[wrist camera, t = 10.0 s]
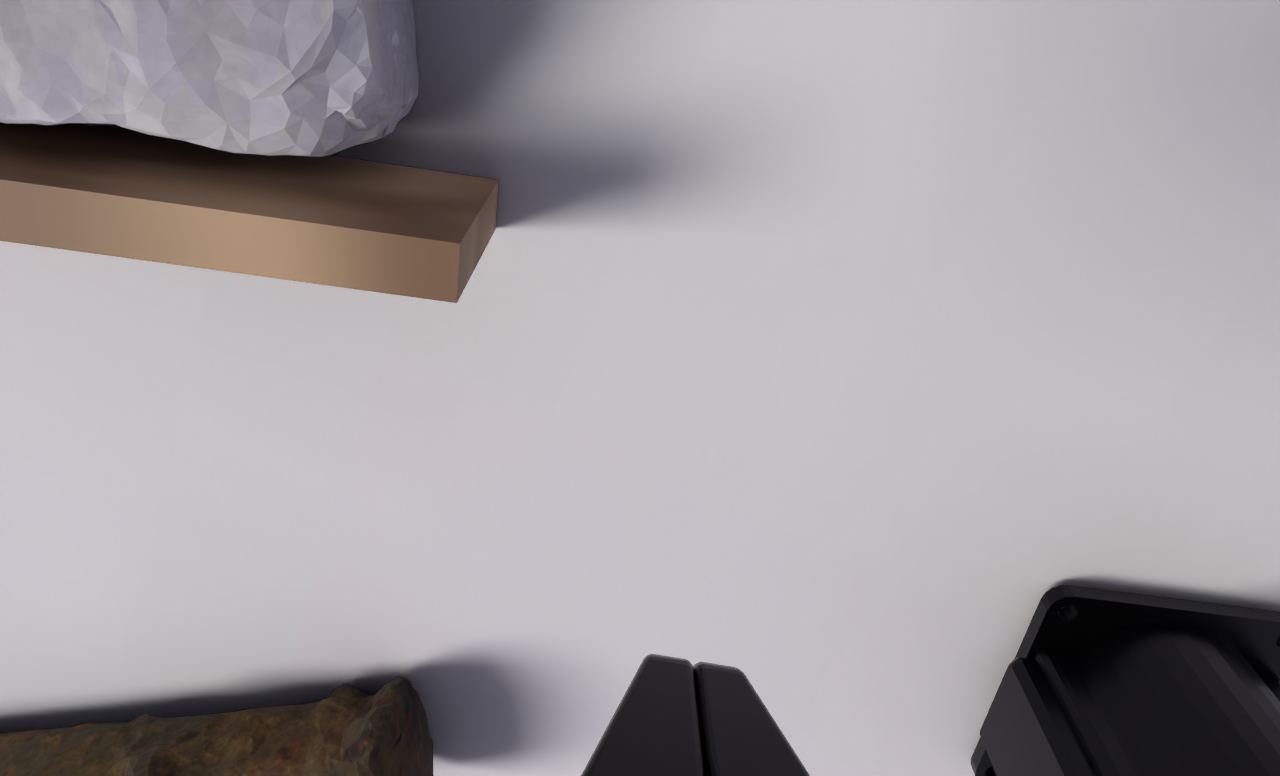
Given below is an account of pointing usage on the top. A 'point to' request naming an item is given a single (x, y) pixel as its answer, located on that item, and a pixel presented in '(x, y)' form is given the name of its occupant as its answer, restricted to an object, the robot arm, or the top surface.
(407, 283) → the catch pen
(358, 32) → the stone block
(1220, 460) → the top surface
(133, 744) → the brown wooden log
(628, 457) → the top surface
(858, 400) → the top surface
